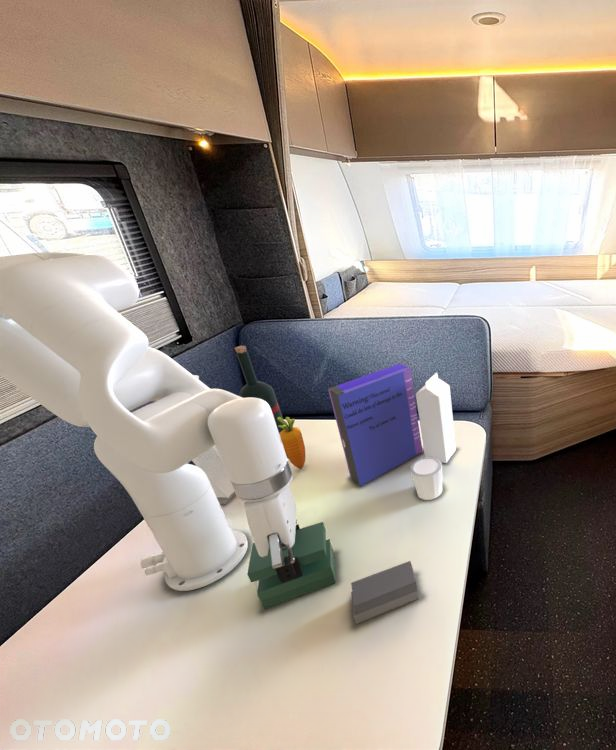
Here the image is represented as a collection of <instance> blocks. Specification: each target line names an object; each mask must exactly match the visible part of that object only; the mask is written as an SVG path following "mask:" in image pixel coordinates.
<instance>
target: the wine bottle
mask: <svg viewBox="0 0 616 750" xmlns="http://www.w3.org/2000/svg"><path fill="white" fill-rule="evenodd" d="M234 350H235V352H236V353H235V354H236V357H237V360H238V362H239V365H240V368H241V370H242V374H243V377H244V381H245V382H246V384H245V385H243V386H242V387H241V389H240V391H239V393H238V396H240V397H242V398H248V397H253V398H259V399H262V400H264V401H266V402H267V403H268V404H269V406H270V408H271V410H272V413H273V416H274V419H275V422H276V426H277V429H278V432H279V433H280V432H281V431H283V430H284V429H282V428H280V427H278V426H279V425H283V424H282V423H281V422H280V421H278V420H277V418H278V417H281V418H282V419H283V420H284V416H283V413H282V411H281V408H280V405H279V402H278V399H277V395H276V393H275V390H274V388H273V386H271V385H270V384H268V383H267V382H265V381H259V380H258V378H257V376H256V373H255V370H254V367H253V363H252V361H251V357H250V355H249V351H248V350H247V345H239V346H236V347H234ZM286 457H287V456H286ZM287 458H288V457H287Z"/></svg>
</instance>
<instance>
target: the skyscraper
mask: <svg viewBox="0 0 616 750" xmlns="http://www.w3.org/2000/svg"><path fill="white" fill-rule="evenodd" d="M192 375H193V376H195V377H196V378H197V379H199V380H200V376H199V375H197V374H192ZM191 462H193V465H194V466H197V467H199V468H200V469H202V470H203V471H204V472H205V474H206V476H207V477H208V480H209V482H210V484H211V486H212V488H213V491H214V493H215V495H216V497H217V499H218V502H219V504H220V506H224V505H226V504H227V503H228V502H229V501H230V500H231V499H232V498H233V496H235V495H236V493H235V491H234V489H233V486H232V484H231V481H230V479H229V477H228V474H227V472H226V469H225V467H224V465H223V462H222V460H221V457H220V455H219V452H218V450H217V448H216V445H214V446H213V447H211V448H210V449H208V450H207V451H205V452H204V453H202V454H200V455H199V456H197V457H196V458H194V459H193V460H191Z"/></svg>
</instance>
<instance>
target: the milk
mask: <svg viewBox="0 0 616 750" xmlns="http://www.w3.org/2000/svg"><path fill="white" fill-rule="evenodd" d="M438 374H439V373H438V372H435V373H434V374H433V375H432V376H431V377H430V378H428V379H427V380H426V381H425V384H424V385H423V387H421V388H420V389H419V390H418V391H417V392H416V393H415V398H416V399H415V400H416V407H417V414H418V421H419V428H420V434H421V441H422V448H423V453H424V457H434V458H437V459H439V460H440V461H441V463H442V464H447V463H448V462H449V461H450V459H451V458H452V456H453V455H454V454H455V452H456V450H457V444H456V435H455V425H454V416H453V415H454V414H453V406H452V397H451V396H452V395H451V387H450V384H448V383H447V382H446V381H444V380H443V379H441V378H439V375H438Z"/></svg>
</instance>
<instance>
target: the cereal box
mask: <svg viewBox="0 0 616 750" xmlns="http://www.w3.org/2000/svg"><path fill="white" fill-rule="evenodd" d="M327 390H328V395H329V399H330V403H331V406H332V410H333V414H334V418H335V421H336V426H337V430H338V433H339V437H340V441H341V447H342V449H343V453H344V457H345V461H346V465H347V469H348V472H349V478H350V479H352V481H353V482H354V483H356V485H358V486H359V487H360V488H361V487H362V486H364V485H366V484H368V483H370V482H372V481H374V480H376V479H377V478H380V477H381V476H382V475H384V474H386V473H389V472H390V471H392V470H393V469H395V468H397V467H399V466H400V465H402V464H405V463H406V462H408V461H409V460H411V459H414V458H415V457H417V456H419V455H420V454H422V453H424V450H423V443H422V436H421V430H420V423H419V416H418V410H417V403H416V399H415V398H416V396H415V392H414V391H415V390H414V385H413V377H412V372H411V368H410V367H408V366H406V365H404V364H401V363H397V364H393V365H390V366H388V367H385V368H383V369H379V370H377V371H374V372H370V373H368V374H366V375H365V374H364V375H363V376H360V377H357V378H355V379H352V380H349V381H346V382H343V383H341V384H337V385H334V386H332V387H329V388H328V389H327Z"/></svg>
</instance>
